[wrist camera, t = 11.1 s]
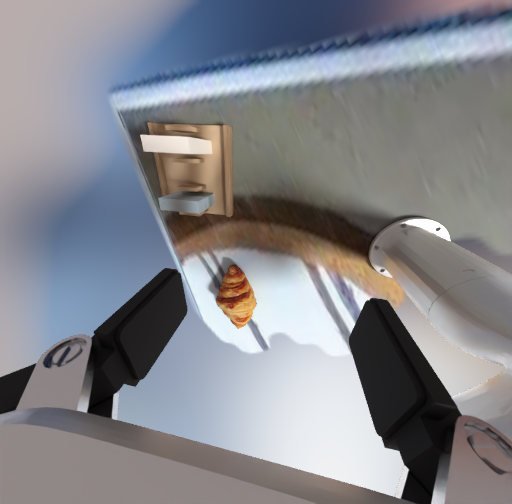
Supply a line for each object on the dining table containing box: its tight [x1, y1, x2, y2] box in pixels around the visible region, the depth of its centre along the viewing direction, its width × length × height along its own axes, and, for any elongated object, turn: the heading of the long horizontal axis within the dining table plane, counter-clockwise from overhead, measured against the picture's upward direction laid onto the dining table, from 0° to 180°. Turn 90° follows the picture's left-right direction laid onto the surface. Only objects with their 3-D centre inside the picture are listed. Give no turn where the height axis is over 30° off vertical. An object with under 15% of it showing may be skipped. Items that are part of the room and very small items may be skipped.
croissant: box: [216, 265, 257, 329], centre depth 45 cm, size 21×10×8 cm, turn 3°
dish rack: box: [147, 122, 233, 217], centre depth 31 cm, size 14×15×8 cm
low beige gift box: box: [140, 135, 212, 154], centre depth 28 cm, size 7×2×8 cm, turn 87°
